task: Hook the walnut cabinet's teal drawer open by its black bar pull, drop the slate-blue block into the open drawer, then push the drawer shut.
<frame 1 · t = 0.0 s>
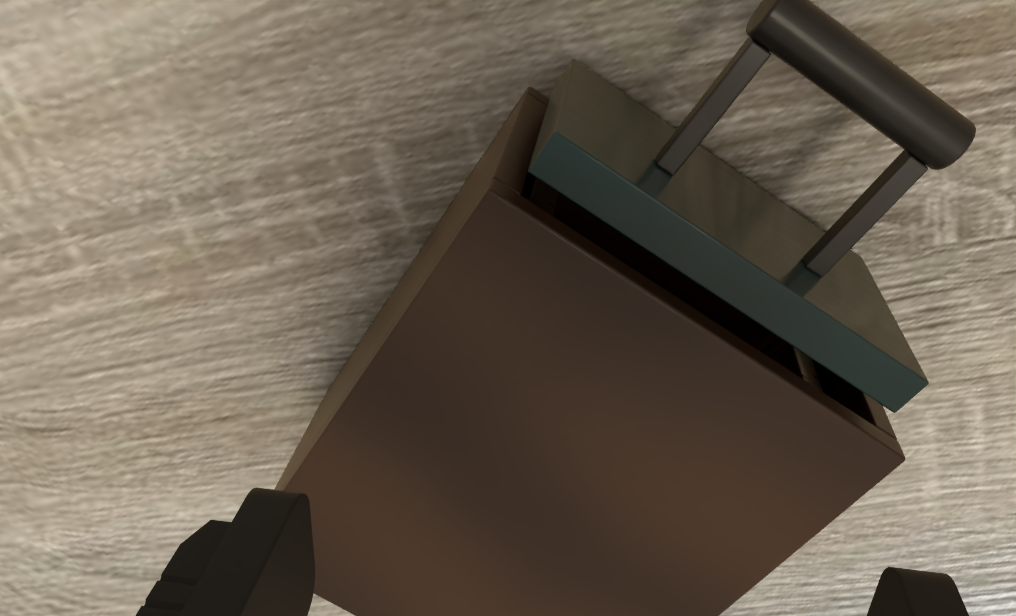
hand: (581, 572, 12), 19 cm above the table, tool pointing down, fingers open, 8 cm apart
cabinet: (563, 343, 32), on the table
drawer: (644, 311, 26), point 5 cm above the table, slide at 0.5 cm
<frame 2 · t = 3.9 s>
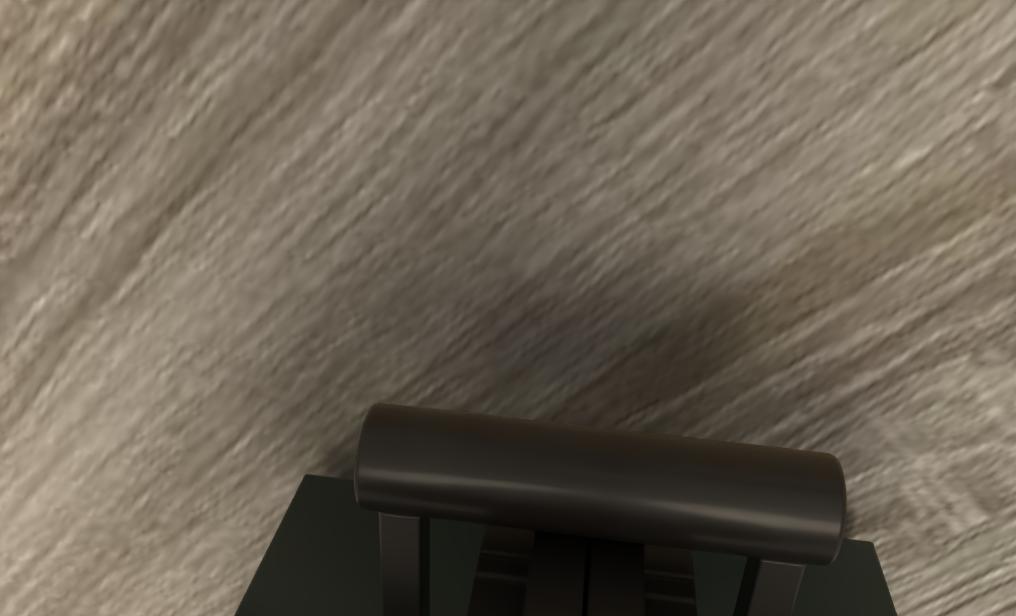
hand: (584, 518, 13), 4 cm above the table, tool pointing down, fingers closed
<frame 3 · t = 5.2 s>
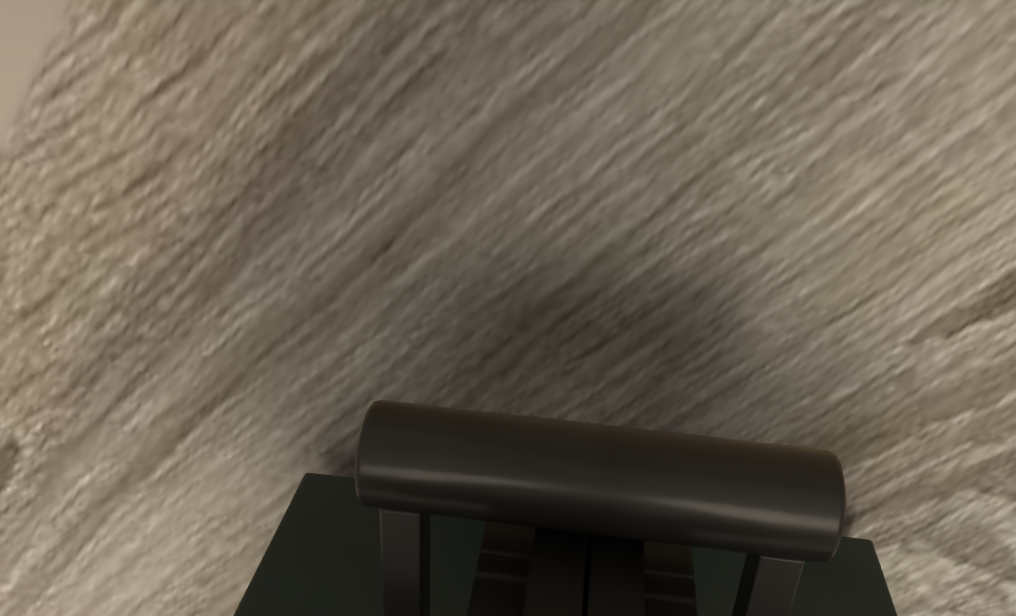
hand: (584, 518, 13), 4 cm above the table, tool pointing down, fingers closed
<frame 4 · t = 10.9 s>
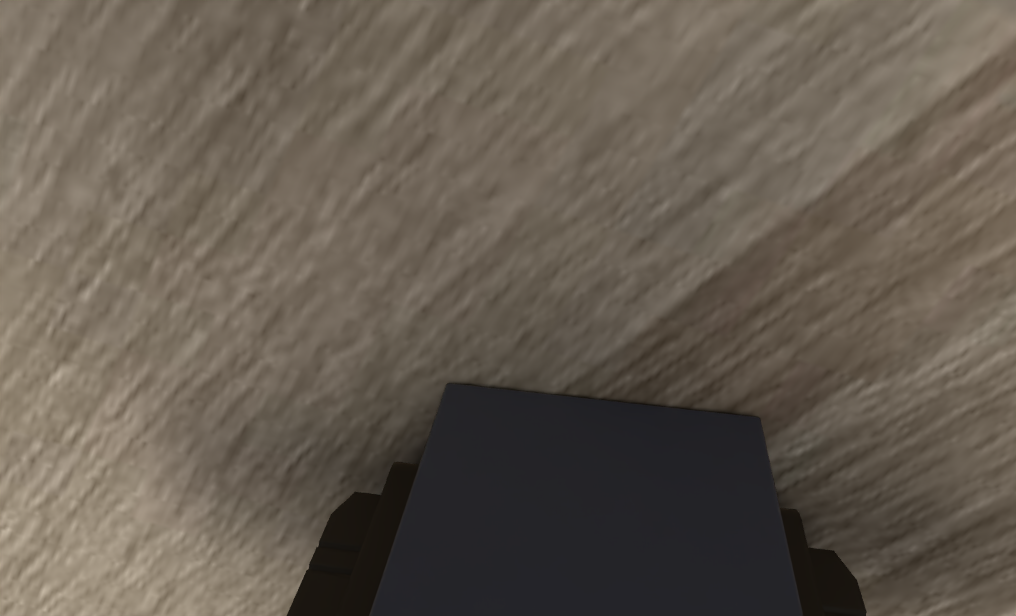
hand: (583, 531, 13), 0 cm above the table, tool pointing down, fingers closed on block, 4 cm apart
block: (586, 516, 13), on the table, touching gripper
when the fingers open (13 cm above the table, at t = 16.8 s): block drops 11 cm, resting on drawer.
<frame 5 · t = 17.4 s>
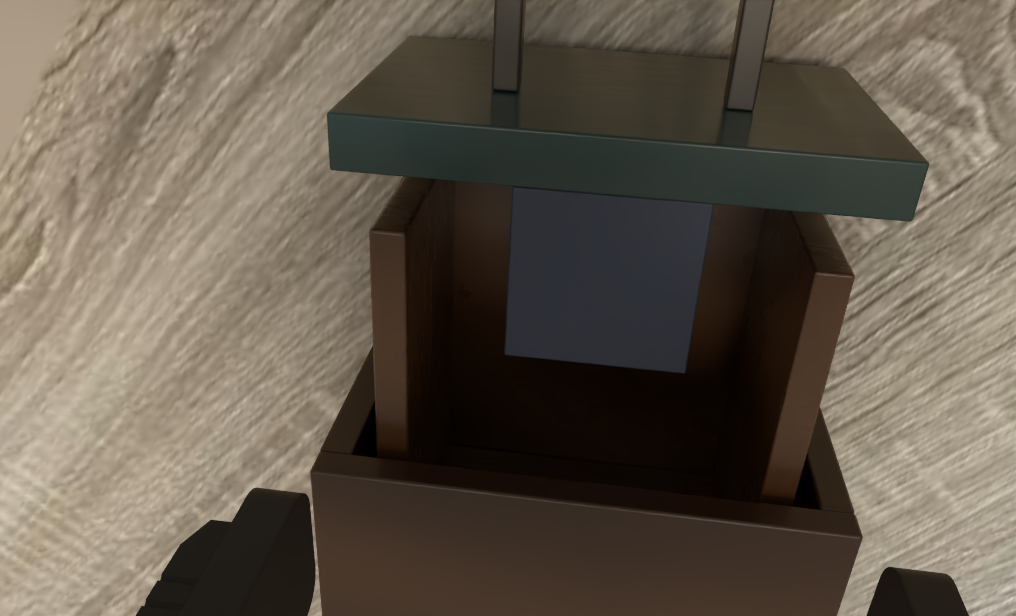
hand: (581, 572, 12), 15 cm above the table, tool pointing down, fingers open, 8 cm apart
cabinet: (574, 486, 31), on the table
drawer: (602, 253, 22), point 5 cm above the table, slide at 7.1 cm, touching block
block: (607, 211, 24), point 2 cm above the table, touching drawer
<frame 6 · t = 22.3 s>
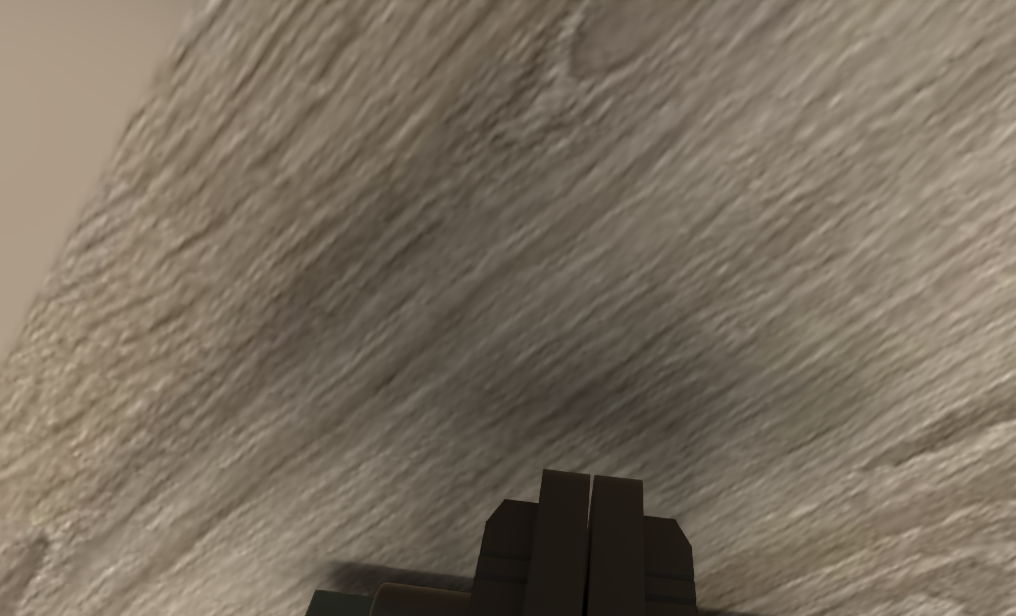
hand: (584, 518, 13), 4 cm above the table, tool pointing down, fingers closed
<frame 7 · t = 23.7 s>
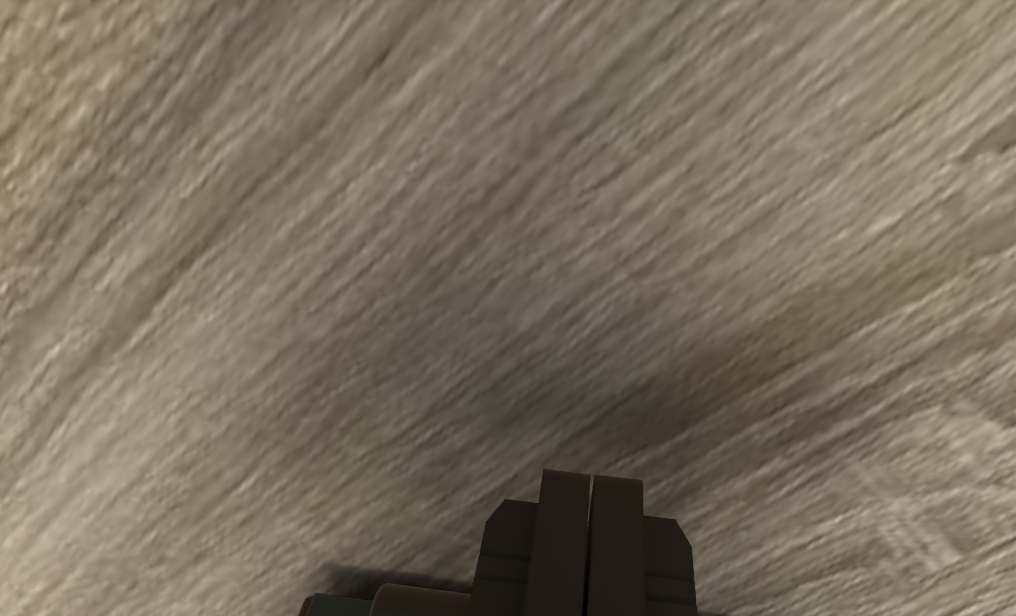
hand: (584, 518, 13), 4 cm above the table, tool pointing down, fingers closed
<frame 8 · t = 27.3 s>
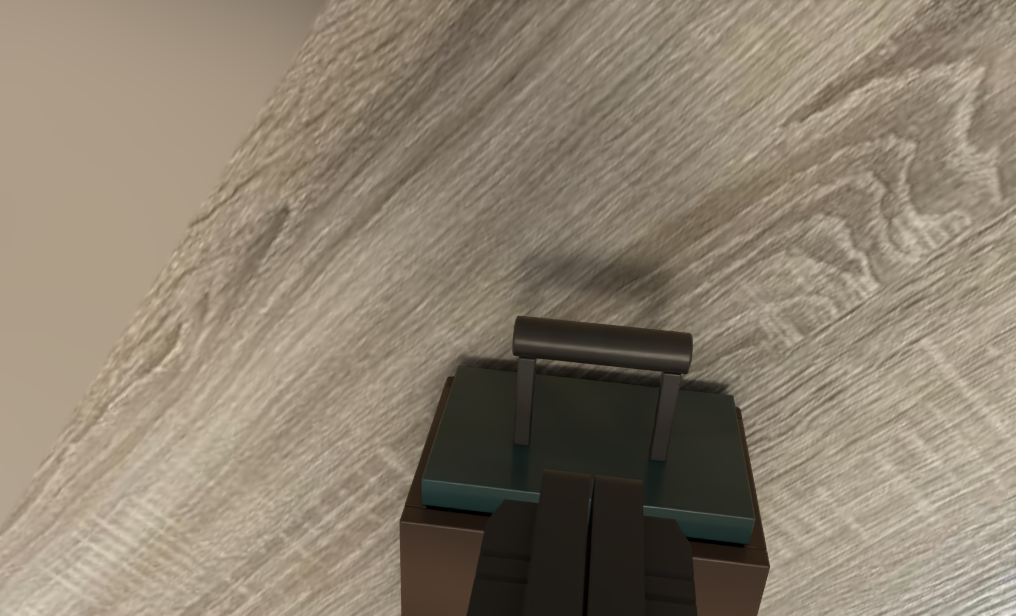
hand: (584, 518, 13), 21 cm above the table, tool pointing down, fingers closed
cabinet: (577, 519, 41), on the table
drawer: (580, 516, 35), point 5 cm above the table, slide at 0.0 cm, touching block
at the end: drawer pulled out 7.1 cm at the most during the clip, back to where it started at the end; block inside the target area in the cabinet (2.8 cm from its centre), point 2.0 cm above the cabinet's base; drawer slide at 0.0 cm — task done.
